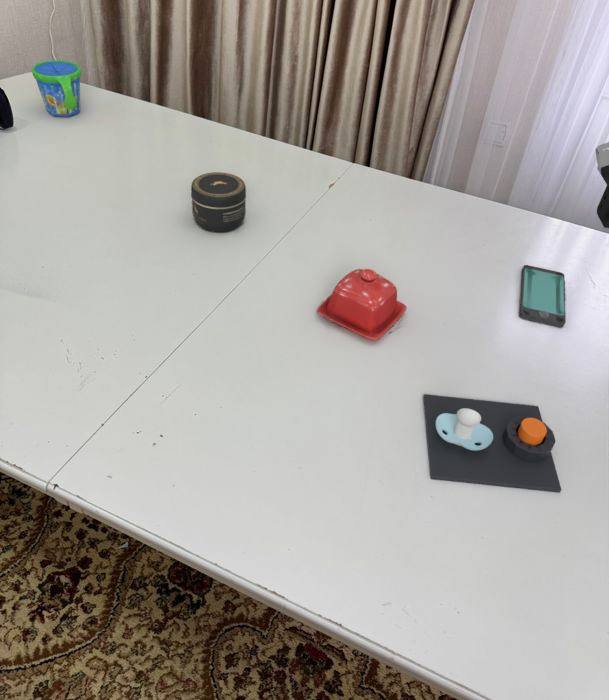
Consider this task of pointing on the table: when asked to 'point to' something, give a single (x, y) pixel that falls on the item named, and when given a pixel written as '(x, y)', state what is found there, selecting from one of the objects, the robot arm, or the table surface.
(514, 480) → the dark grey flat plate
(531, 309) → the smartphone
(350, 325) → the butter dish
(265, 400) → the table surface
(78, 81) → the snack cup
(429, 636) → the table surface
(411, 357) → the table surface
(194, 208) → the jar
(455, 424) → the pacifier
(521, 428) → the button
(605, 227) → the robot arm
